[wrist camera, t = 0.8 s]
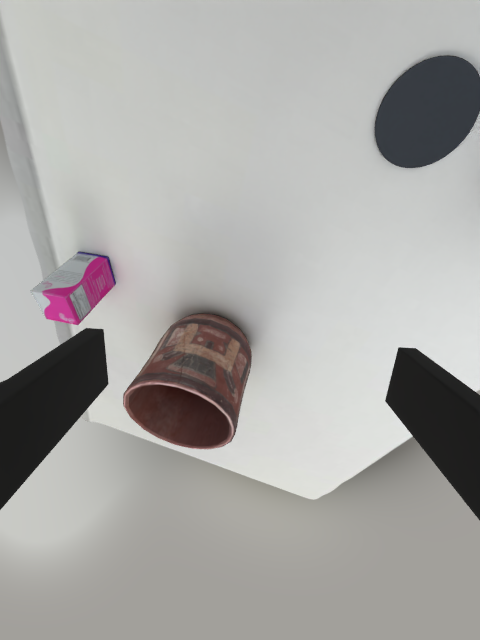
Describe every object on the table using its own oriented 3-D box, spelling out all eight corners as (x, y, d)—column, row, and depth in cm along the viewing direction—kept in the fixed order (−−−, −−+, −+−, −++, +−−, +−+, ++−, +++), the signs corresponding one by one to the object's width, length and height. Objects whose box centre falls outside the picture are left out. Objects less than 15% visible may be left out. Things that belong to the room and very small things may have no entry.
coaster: (403, 45, 26) (404, 45, 26) (506, 67, 26) (508, 67, 25) (359, 156, 32) (360, 157, 32) (442, 175, 32) (443, 176, 31)
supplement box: (88, 279, 54) (44, 319, 46) (78, 250, 50) (27, 288, 42) (117, 285, 53) (77, 326, 45) (109, 256, 49) (64, 295, 41)
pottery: (157, 298, 53) (100, 376, 40) (252, 300, 48) (223, 389, 35) (183, 364, 64) (145, 442, 51) (262, 370, 60) (243, 458, 46)
